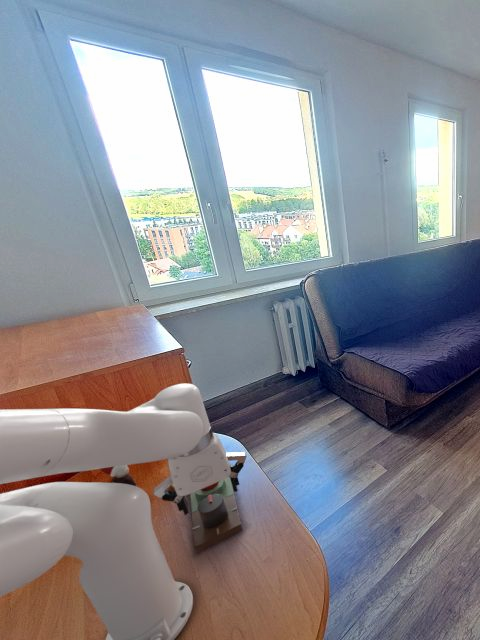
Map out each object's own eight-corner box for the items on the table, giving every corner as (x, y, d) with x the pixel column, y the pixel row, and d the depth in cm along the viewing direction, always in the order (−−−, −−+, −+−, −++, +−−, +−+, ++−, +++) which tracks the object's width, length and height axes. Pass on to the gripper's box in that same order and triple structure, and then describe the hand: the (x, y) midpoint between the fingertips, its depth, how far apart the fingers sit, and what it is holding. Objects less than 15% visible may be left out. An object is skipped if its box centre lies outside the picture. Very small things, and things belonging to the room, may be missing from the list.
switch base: (234, 497, 85) (232, 488, 84) (193, 516, 80) (190, 507, 79) (228, 472, 93) (226, 464, 92) (190, 488, 88) (187, 480, 87)
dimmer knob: (229, 520, 77) (224, 503, 75) (204, 532, 74) (198, 515, 72) (226, 505, 81) (221, 489, 79) (202, 516, 78) (196, 499, 76)
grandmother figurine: (155, 498, 85) (140, 459, 80) (142, 511, 81) (125, 472, 77) (128, 495, 86) (111, 457, 81) (113, 508, 82) (95, 469, 78)
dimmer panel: (243, 529, 77) (241, 523, 76) (196, 553, 72) (193, 547, 71) (235, 499, 85) (234, 493, 84) (192, 519, 79) (190, 513, 79)
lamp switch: (218, 486, 85) (217, 481, 85) (202, 493, 83) (200, 488, 83) (217, 477, 88) (215, 472, 87) (201, 484, 86) (199, 479, 85)
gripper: (138, 471, 62) (165, 533, 68) (240, 433, 72) (256, 490, 78) (139, 447, 67) (164, 506, 74) (234, 414, 77) (249, 470, 84)
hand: (211, 498), depth 76 cm, fingers open, 9 cm apart
